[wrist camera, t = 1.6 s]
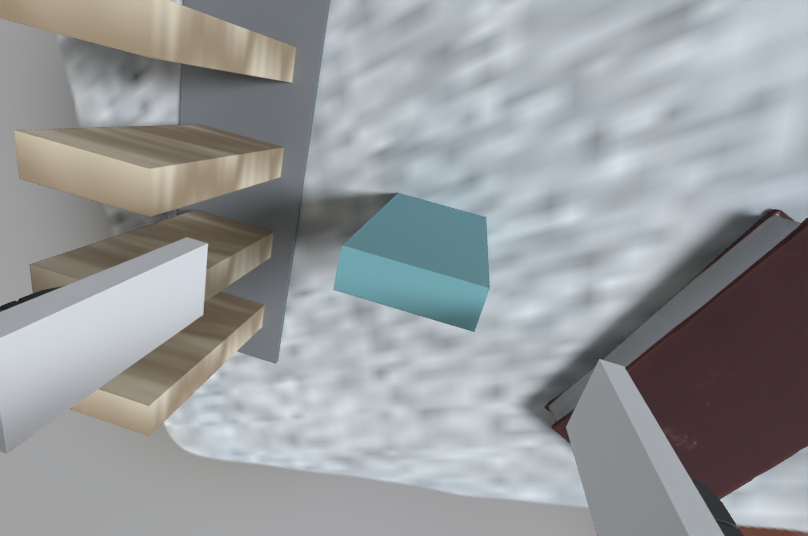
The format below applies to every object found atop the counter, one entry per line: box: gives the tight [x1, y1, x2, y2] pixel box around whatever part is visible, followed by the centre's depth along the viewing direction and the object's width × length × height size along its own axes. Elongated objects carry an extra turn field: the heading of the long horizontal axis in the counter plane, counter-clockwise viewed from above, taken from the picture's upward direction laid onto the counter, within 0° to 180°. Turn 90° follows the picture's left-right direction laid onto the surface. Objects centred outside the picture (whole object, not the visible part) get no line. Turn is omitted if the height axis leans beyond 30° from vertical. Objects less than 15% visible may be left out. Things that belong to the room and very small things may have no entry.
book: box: [544, 209, 808, 500], centre depth 27 cm, size 13×19×3 cm, turn 144°
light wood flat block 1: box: [0, 0, 296, 83], centre depth 20 cm, size 2×6×12 cm, turn 76°
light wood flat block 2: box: [30, 210, 274, 302], centre depth 25 cm, size 2×6×12 cm, turn 76°
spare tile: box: [334, 193, 490, 332], centre depth 22 cm, size 2×6×12 cm, turn 77°
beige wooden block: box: [14, 124, 284, 217], centre depth 22 cm, size 2×6×12 cm, turn 76°
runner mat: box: [177, 0, 330, 364], centre depth 28 cm, size 31×9×1 cm, turn 166°
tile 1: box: [71, 291, 265, 436], centre depth 27 cm, size 2×6×12 cm, turn 76°
